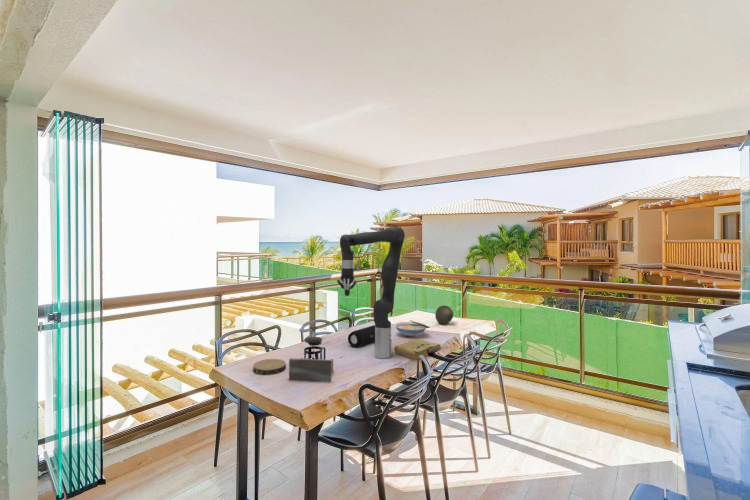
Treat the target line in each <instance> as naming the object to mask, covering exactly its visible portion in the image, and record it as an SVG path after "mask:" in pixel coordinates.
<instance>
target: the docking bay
mask: <svg viewBox="0 0 750 500" xmlns="http://www.w3.org/2000/svg"><path fill="white" fill-rule="evenodd" d="M288 361H289V362H288V381H299V382H300V381H301V382H302V381H303V382H320V381H331V382H332V374H333V372H334V359H332V358H330V359H325V360H324V359H323V358H322V359H304V357H300V358H295V357H294V358H293V357H292V358H291V357H290V358H289V360H288ZM331 373H332V374H331Z"/></svg>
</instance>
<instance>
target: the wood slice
mask: <svg viewBox="0 0 750 500" xmlns="http://www.w3.org/2000/svg"><path fill="white" fill-rule="evenodd" d="M286 365H287V363H286V361H285V360H283V359H279V358H269V359H262V360H259V361H257V362H254V363H253V369H252V371H253V373H255V374H256V375H259V376H271V375H272V376H273V375H277V374H280V373H282V372H284V371H285V370H286V368H287V367H286Z"/></svg>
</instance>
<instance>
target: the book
mask: <svg viewBox="0 0 750 500" xmlns="http://www.w3.org/2000/svg"><path fill="white" fill-rule="evenodd" d="M393 349H394V350H393V351H394V353H393V355H394V356H399V357H401V358H404V359H408V360H409V361H414V362H416V361H419V360H418V357H419V356H420V355H425V357H426V358H428V357H429V354H433V353H435V352H437V351H439V350H441V349H442V345H441V344H439V343H435V342H431V341H428V340H424V339H421V338H417V339H414V340H408V341H407V342H403V343H402V344H399V345H398V344H397V345H396V344H395V346H394V347H393ZM428 353H429V354H428Z"/></svg>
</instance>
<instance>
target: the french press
mask: <svg viewBox="0 0 750 500" xmlns="http://www.w3.org/2000/svg"><path fill="white" fill-rule="evenodd" d="M308 328H309V330H311V331H312V336H310V337H306V338H304V339H303V341H304V342H305V343H307V345H309V346H307V347H304V349H303V350H304V351H303V352H304V354H303V359H322V360H326V351H327V350H326V347H324V346H322V347H321V346H320V345H321V344H322V342H323V338H322V337H320V336H314V335H315V334H314V333H315V330H318V326H310V327H308ZM319 354H320V355H319ZM307 355H308V356H307Z"/></svg>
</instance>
